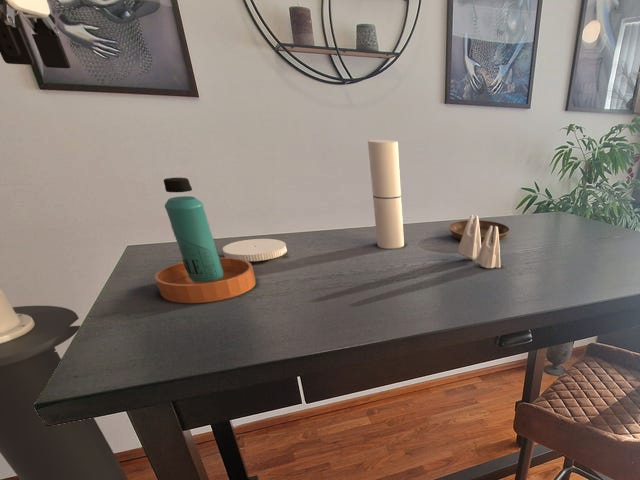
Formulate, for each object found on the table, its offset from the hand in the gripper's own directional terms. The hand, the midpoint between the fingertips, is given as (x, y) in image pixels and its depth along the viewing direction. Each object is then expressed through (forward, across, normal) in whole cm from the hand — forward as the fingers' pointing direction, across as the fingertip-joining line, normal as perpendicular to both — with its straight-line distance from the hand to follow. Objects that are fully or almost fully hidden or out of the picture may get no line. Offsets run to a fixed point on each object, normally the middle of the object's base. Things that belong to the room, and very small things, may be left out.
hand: (40, 66), depth 64 cm
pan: (+36, -6, +11) cm, 38 cm away
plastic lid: (+36, -26, +17) cm, 48 cm away
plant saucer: (+36, -36, +76) cm, 92 cm away
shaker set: (+36, -13, +70) cm, 80 cm away
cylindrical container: (+36, -32, +50) cm, 70 cm away
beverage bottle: (+36, -6, +11) cm, 38 cm away
